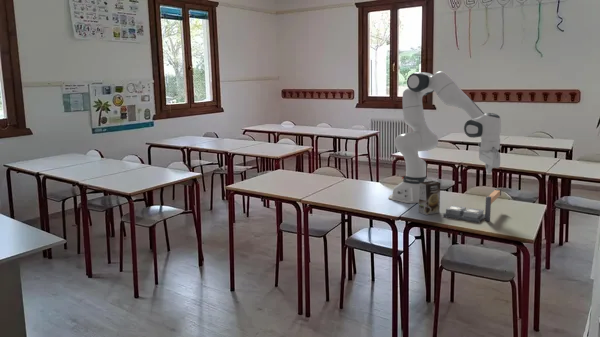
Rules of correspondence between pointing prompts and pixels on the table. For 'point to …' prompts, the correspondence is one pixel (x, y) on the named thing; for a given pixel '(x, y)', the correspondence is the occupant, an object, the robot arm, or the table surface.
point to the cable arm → (490, 200)
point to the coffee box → (429, 197)
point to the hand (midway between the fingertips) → (488, 172)
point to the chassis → (464, 213)
